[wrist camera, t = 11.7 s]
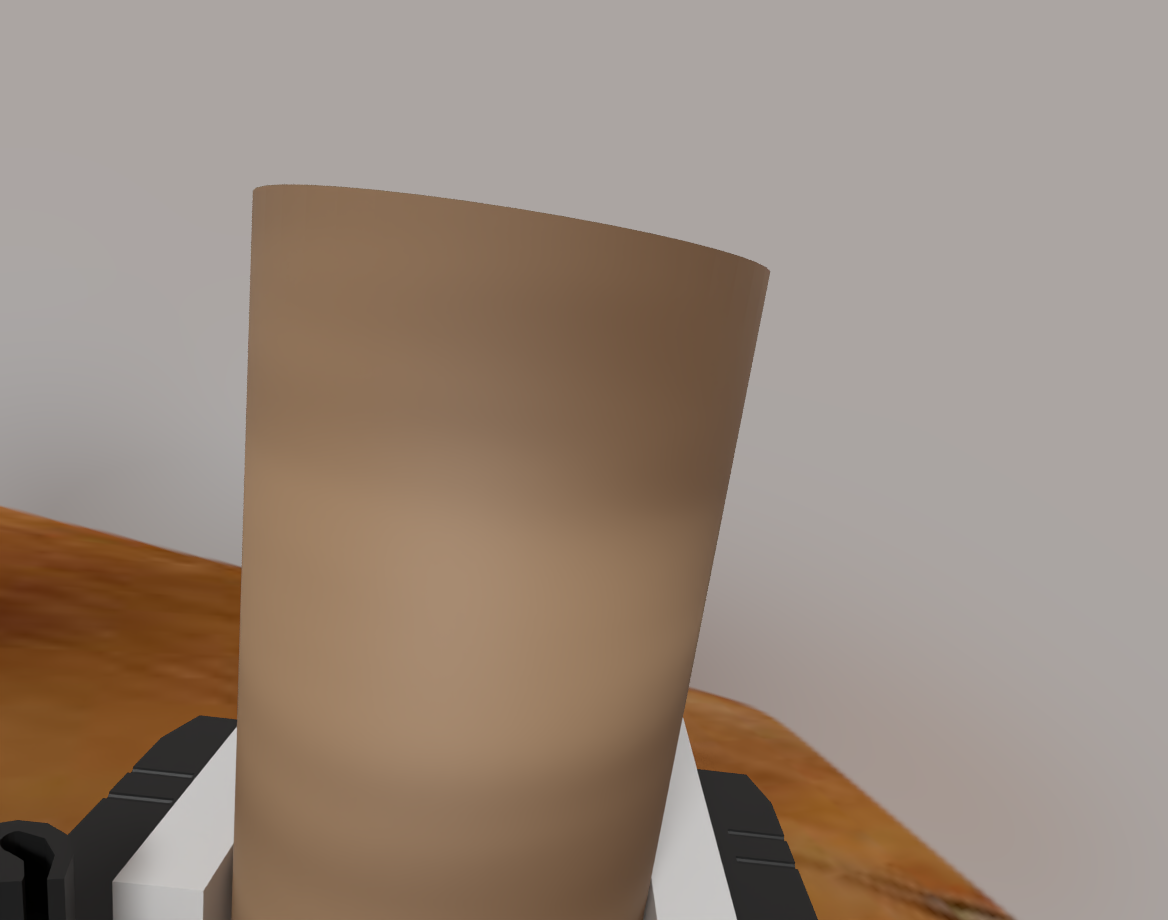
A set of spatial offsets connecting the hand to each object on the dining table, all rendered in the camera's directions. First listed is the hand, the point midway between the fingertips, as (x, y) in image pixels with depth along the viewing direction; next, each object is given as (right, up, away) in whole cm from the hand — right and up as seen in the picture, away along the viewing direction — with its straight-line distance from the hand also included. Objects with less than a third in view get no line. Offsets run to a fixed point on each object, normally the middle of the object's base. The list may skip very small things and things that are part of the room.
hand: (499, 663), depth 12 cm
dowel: (-1, -10, -3) cm, 10 cm away
